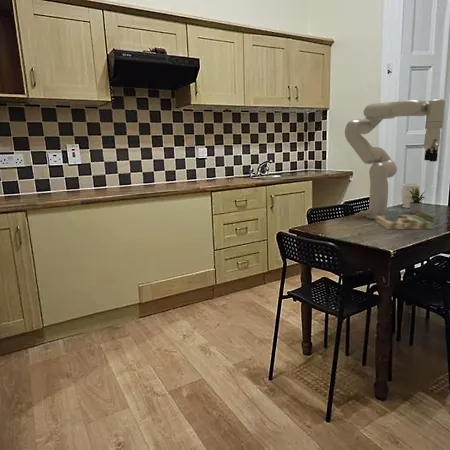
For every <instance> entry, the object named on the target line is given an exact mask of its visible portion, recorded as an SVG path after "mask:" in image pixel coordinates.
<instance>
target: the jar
mask: <svg viewBox="0 0 450 450" xmlns="http://www.w3.org/2000/svg"><path fill="white" fill-rule="evenodd" d="M401 187H402V189H401V202H402V208H405V209H410V202H414V201H413V199H412V200H411V198H412V194H411V192H410V191H412V192H413V189H414V192H415V188H416V187H417V189H418V188H419V189H418V190H419V196H421V194H420V193H421V190H420V187H421V184H419V183H403V184H402V186H401ZM411 187H412V188H413V189H412V188H411ZM404 188H405V189H404ZM409 190H410V191H409ZM404 195H405V196H404ZM407 196H408V197H407ZM406 197H407V198H406ZM410 197H411V198H410Z"/></svg>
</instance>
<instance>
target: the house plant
mask: <svg viewBox="0 0 450 450" xmlns="http://www.w3.org/2000/svg"><path fill="white" fill-rule="evenodd" d="M411 188H412V187H411ZM404 189H405V188H404ZM412 189H413V188H412ZM418 189H420V187H419V188H418ZM418 189H417V187H416V188H415V192H414V189H413V192H412V191H410V190H409V191H410V192H411V194H412V198H411V197H410V198H411V200H412V199H413V201H414V202H410V208H409V210H410V213H411V214H413V215H416V210H420V211H422V208H423V202H422V201H423V200H424V199H425V196H424V194H425V193H426V191H423V192H422V193H421V194H420V195H419V190H418ZM404 196H405V195H404ZM407 197H408V196H407ZM407 197H406V198H407Z"/></svg>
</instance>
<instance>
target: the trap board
mask: <svg viewBox="0 0 450 450" xmlns="http://www.w3.org/2000/svg"><path fill="white" fill-rule="evenodd" d="M435 219H436V217H435V216H433V215H431V214H429V213H428V212H427V213H426V212H424V211H422V210H421V211H420V210H416V214H413V215H412V214H409V215H408V214H407V215H406V214H405V215H402V214H401V215H400V214H398V220H387V219H385V216H376V219H374V221H375V223H377V224H379V225H380V226H382V227H383V228H385V229H386V230H433V229H435Z"/></svg>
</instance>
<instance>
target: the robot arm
mask: <svg viewBox="0 0 450 450" xmlns="http://www.w3.org/2000/svg"><path fill="white" fill-rule="evenodd" d="M445 101H446V100H445V99H443V98H435V99H429V100H420V99H411V100H399V101H390V102H389V101H387V102H378V103H370V104H368V105H366V106H365V108H364V110H363V116H364V117H365V118H364V119H359V118H358V119H357V118H355V119H352V120H350V121H348V122H347V123H346V125H345V128H344V135H345V139H346V141H347V143H348V144H349V145H350V147H351V148H352V149H353V151H355V153H356V155H358V157H359V159H360V160H361V161H362V162H363V163H364V164H366V165H371V166H370V168H369V171H368V172H369V185H370V186H369V206H368V208H367V209H366V210H360V211H359V213H360V215H365V218H367V219H372V220H376V216H385V209H388V198H389V182H388V179H389V178H392V177H394V176H395V175H396V174H397V171H398V167H397V165H396V163H395V162H394V160H393V159H392V158H391V157H390V156H389V154H388V153H387V152H386V150H385V149H383V148H382V147H378V146H373V145H371V144H370V142H369V141H368V140H367V139H366V138H365V137H364V136H363V135H367V134H369V133H371V132H372V131H373V130H374V129H375V128H376V127H377V126H378V125H379V124H380V123H381V122H382V121H383V120H390V119H391V120H392V119H395V118H397V117H425V116H426V117H425V124H424V125H425V126H424V129H425V135H424V142H423V149H425V152H424V158H423V159H424V161H429V162H438V156H439V155H438V153H439V148H440V143H441V142H440V140H441V129H443V126H444V114H445V108H446V102H445Z"/></svg>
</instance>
